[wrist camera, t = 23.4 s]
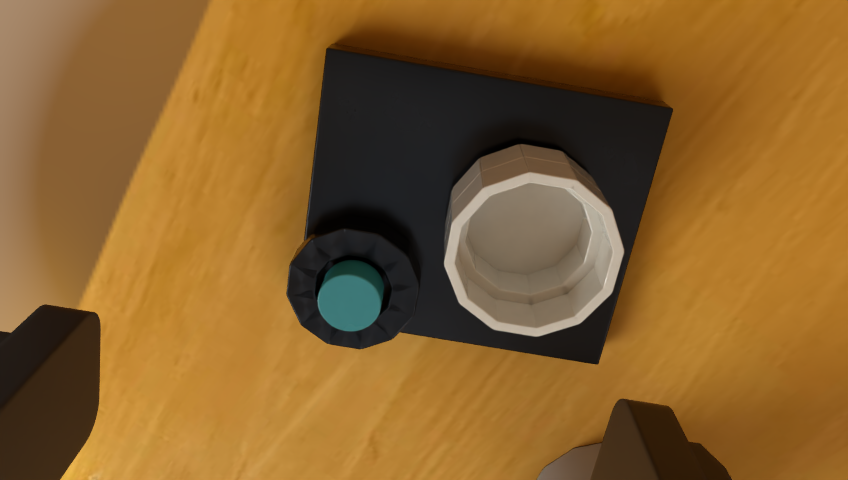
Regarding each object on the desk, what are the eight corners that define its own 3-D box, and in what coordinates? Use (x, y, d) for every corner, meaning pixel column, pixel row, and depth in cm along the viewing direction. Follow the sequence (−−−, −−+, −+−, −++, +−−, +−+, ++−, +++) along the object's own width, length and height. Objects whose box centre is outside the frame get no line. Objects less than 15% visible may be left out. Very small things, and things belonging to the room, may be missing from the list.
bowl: (435, 272, 33) (432, 320, 29) (462, 130, 31) (463, 160, 26) (578, 295, 33) (597, 347, 29) (616, 157, 31) (642, 191, 27)
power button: (319, 309, 32) (313, 326, 31) (327, 254, 31) (321, 269, 30) (379, 319, 33) (376, 336, 31) (388, 264, 32) (385, 280, 30)
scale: (294, 305, 35) (281, 337, 33) (325, 42, 31) (312, 51, 28) (591, 354, 36) (603, 389, 33) (665, 101, 31) (685, 117, 28)
